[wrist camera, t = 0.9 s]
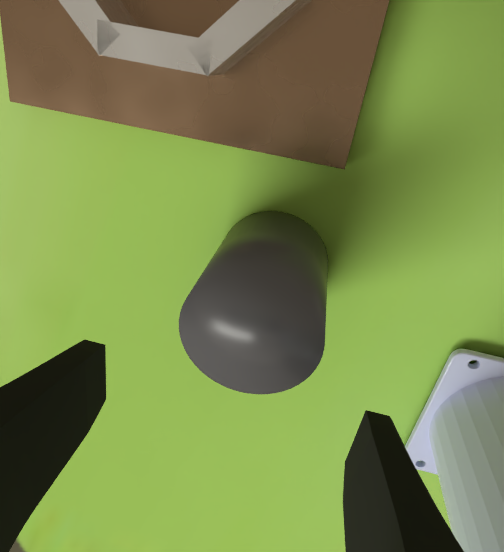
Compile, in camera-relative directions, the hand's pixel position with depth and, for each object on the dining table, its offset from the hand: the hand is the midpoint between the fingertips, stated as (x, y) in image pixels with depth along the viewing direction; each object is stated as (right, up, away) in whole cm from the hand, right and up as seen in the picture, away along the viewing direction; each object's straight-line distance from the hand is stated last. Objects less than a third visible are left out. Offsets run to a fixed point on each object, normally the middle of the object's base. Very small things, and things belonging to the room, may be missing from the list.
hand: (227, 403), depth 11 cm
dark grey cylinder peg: (+2, +4, +8) cm, 9 cm away
